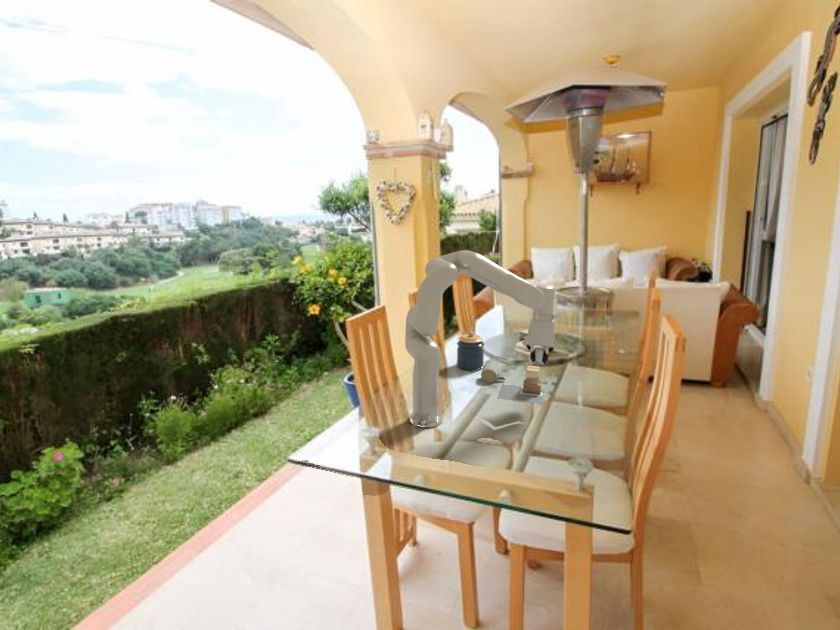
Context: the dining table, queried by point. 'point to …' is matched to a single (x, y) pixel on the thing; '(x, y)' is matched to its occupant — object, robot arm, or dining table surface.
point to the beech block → (532, 375)
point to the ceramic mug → (490, 373)
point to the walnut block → (532, 387)
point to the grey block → (539, 355)
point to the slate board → (519, 394)
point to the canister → (470, 352)
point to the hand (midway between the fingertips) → (538, 361)
